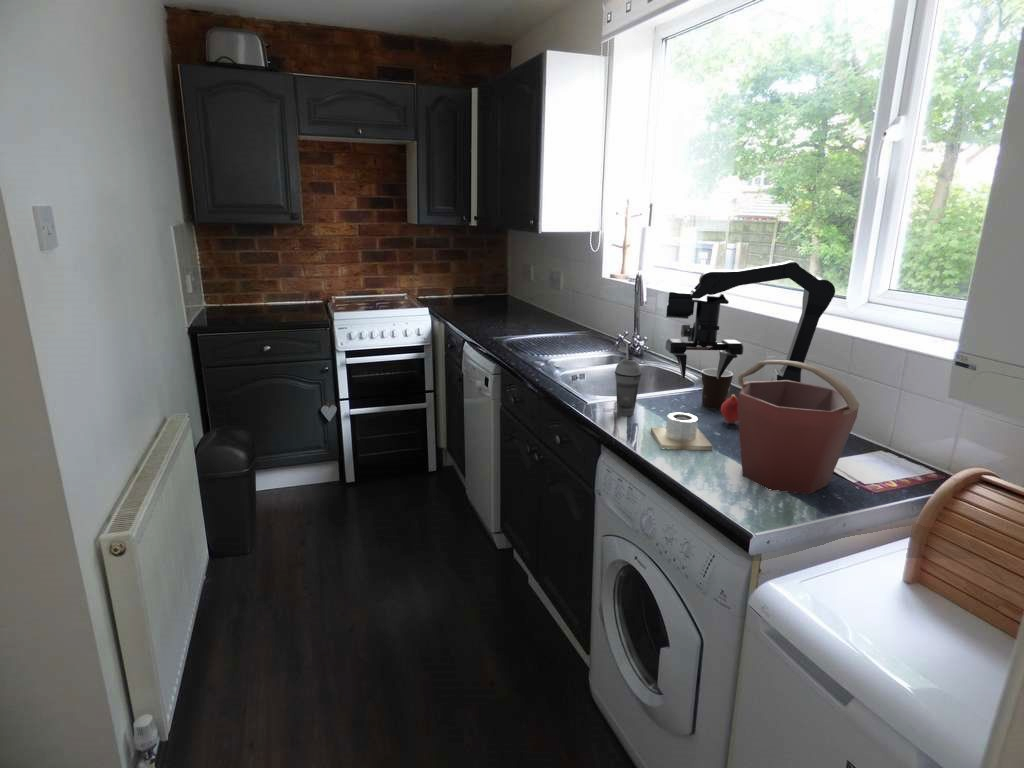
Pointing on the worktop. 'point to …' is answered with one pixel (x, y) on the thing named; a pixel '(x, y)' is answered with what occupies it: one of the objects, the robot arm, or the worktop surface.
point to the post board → (696, 444)
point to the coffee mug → (715, 388)
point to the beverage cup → (627, 384)
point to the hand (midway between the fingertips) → (700, 378)
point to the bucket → (793, 429)
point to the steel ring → (681, 427)
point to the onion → (730, 409)
